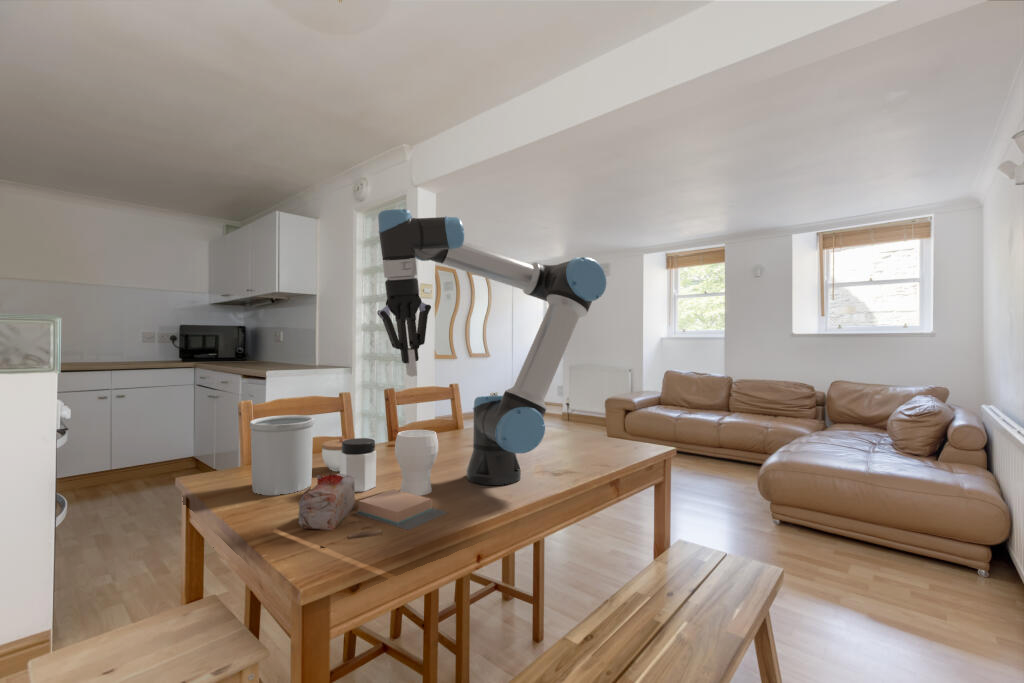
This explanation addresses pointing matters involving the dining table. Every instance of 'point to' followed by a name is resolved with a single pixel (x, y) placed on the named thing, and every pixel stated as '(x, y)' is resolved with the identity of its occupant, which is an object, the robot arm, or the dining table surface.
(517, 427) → the robot arm
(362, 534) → the spatula
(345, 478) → the food item
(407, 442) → the cup
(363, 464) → the jar
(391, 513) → the tile
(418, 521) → the mat
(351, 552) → the dining table surface
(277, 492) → the utensil holder
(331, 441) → the lidded jar
